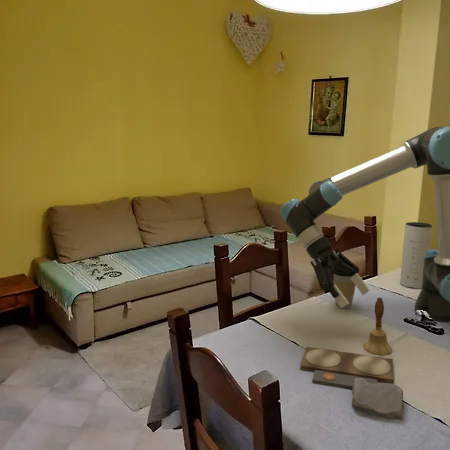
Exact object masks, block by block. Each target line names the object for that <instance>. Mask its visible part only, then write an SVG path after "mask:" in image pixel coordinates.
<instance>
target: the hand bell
mask: <svg viewBox="0 0 450 450" xmlns="http://www.w3.org/2000/svg"><path fill="white" fill-rule="evenodd" d="M384 312H385V305H384V300H383V298H382V297H377V298H376V301H375V304H374V315H375V328H372V329H371V330H370V332H369V336H368V339H367V340H366V341H365V342H364V343H363V345H362V348H363V350H364V351H365V352H367V353H370V354H371V355H374V356H375V355H376V356H386V355H390V354H391V353H392V352H393V348H392V346H391V344H389V341H388V339H387V332H386V331H385V330H384V329H382V328H383V327H382V318H383V316H384Z"/></svg>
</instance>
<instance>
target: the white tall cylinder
mask: <svg viewBox="0 0 450 450" xmlns="http://www.w3.org/2000/svg"><path fill="white" fill-rule="evenodd" d="M433 227H434V226H433V225H432V224H431V223H427V222H419V221H418V222H417V221H410V222H409V221H408V222H405V224H404V235H403V244H402V248H403V249H402V257H401V266H400V267H401V268H400V279H399V284H400V285H401V286H403V287H405V288H409V289H413V290H414V289H415V290H416V289H417V290H421V289H422V278H423V266H424V256H425V252H426V250H428V249H432V248H431V246H432V238H433Z"/></svg>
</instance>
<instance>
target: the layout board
mask: <svg viewBox="0 0 450 450" xmlns="http://www.w3.org/2000/svg"><path fill="white" fill-rule="evenodd" d="M299 367H300V368H299V369H300V370H304V371H309V372H310V371H311V372H314V371H315V370H319V371H326V372H332V373H339V374H345V375H351V376H358V377H364V378H370V379H377V383H389V384H394V382H395V381H394V380H395V379H394V378H395V377H394V374H395V373H394V358H389V357H383V356H382V357H381V356H377V355H376V356H375V355H367V354H362V353H361V354H360V353H354V352H353V353H352V352H346V351H340V350H339V351H338V350H333V349H325V348H319V347H310V346H306V347H305V350H304V353H303V356H302V359H301V362H300V365H299Z"/></svg>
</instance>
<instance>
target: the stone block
mask: <svg viewBox="0 0 450 450" xmlns="http://www.w3.org/2000/svg"><path fill="white" fill-rule="evenodd" d="M351 392H352V399H351V405H352V407H353V408H355V409H357V410H361V411H363V412H366V413H367V412H368V413H370V414H372V415H374V416H377V417H381V418H384V419H388V420H390V419H391V420H400V419H403V417H404V414H405V411H404V407H403V399H404V390H403V388H401V387H400V386H399V385H396V384H391V383H384V382H378V383H377V384H372V383H367V382H365V381H363V380H357V381H356V382H355V383H354V384H353V389H351Z"/></svg>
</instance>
